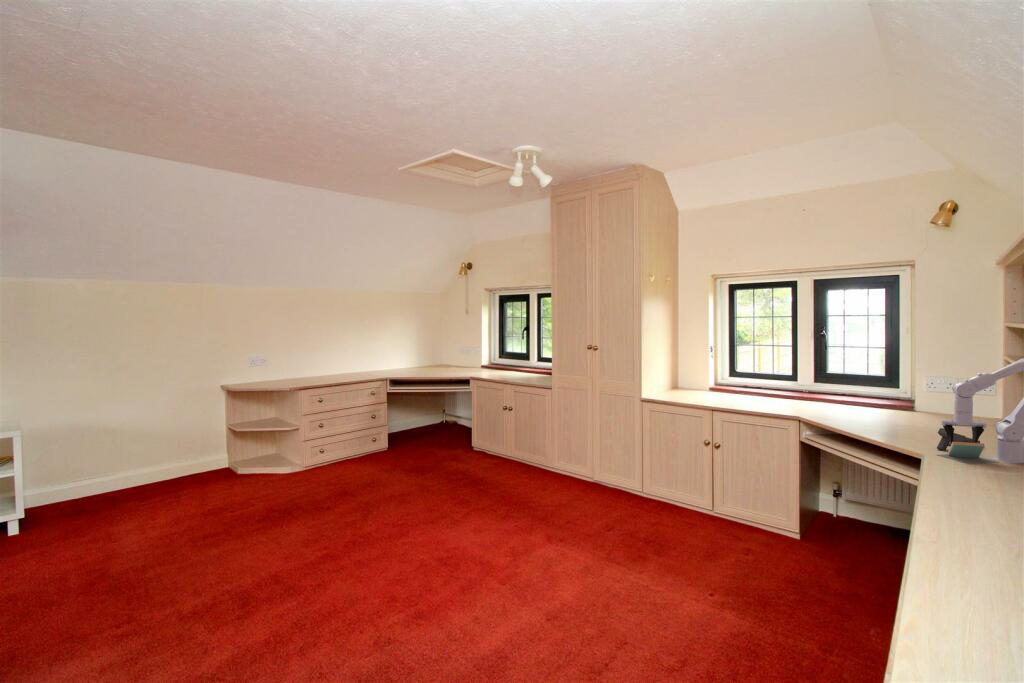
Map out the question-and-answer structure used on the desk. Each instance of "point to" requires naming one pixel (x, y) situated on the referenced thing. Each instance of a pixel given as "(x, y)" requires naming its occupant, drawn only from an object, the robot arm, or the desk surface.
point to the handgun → (956, 438)
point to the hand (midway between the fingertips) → (962, 443)
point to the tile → (966, 449)
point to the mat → (969, 459)
